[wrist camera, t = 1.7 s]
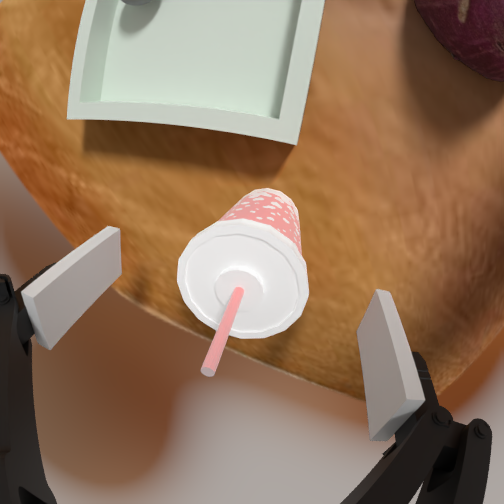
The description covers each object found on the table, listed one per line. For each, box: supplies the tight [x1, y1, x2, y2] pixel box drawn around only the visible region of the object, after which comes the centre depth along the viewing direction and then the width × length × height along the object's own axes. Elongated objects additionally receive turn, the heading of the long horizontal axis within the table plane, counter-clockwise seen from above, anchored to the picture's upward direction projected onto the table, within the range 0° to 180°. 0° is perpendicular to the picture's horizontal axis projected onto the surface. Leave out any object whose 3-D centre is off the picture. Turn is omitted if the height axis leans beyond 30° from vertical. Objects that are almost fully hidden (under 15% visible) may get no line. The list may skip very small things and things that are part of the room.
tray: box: [67, 0, 325, 145], centre depth 14 cm, size 16×14×4 cm
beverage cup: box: [177, 188, 309, 377], centre depth 15 cm, size 6×6×14 cm
